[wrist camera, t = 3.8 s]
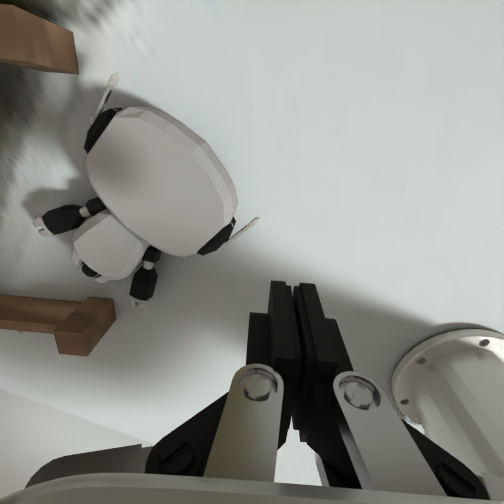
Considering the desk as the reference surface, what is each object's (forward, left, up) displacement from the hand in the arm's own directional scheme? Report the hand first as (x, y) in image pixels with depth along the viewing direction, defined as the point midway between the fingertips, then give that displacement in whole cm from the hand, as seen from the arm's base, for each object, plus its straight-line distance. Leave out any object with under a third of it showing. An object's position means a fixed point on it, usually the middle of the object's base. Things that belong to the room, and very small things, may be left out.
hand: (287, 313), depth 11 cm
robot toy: (0, +11, -14) cm, 17 cm away
